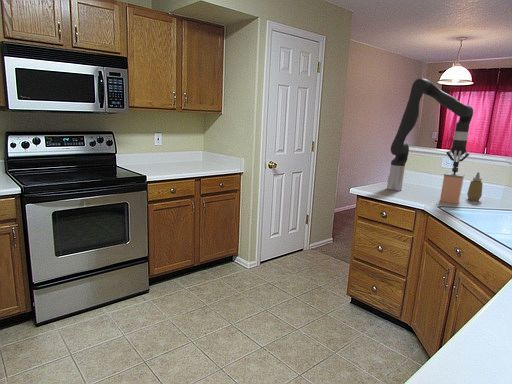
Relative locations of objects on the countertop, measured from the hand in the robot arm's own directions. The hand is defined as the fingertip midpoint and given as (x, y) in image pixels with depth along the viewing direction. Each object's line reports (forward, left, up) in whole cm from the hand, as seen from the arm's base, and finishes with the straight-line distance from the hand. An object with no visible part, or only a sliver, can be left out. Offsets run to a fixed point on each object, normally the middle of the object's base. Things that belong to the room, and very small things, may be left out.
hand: (455, 167), depth 225 cm
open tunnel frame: (0, 0, -21) cm, 21 cm away
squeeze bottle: (+12, +16, -21) cm, 29 cm away
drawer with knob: (0, 0, -20) cm, 20 cm away
